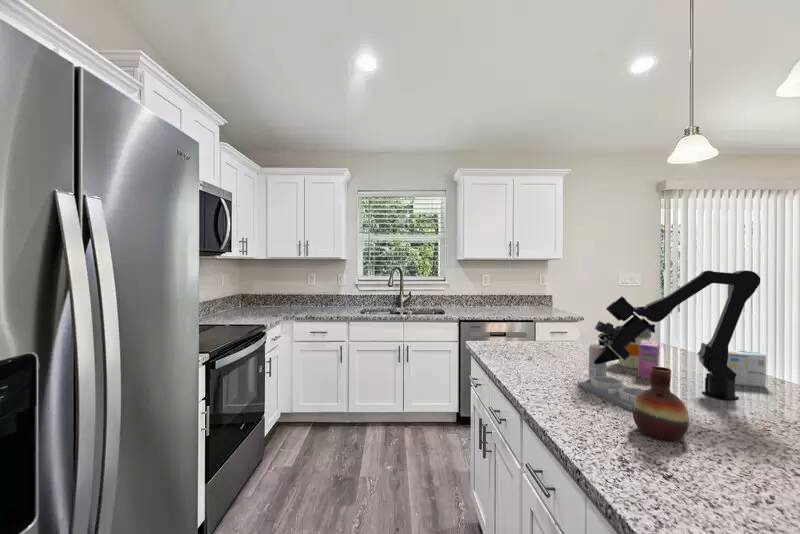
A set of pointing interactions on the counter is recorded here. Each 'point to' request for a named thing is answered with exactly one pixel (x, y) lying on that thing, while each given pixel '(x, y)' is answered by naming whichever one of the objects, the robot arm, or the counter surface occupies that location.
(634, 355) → the reusable coffee cup
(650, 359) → the box
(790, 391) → the counter surface
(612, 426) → the counter surface
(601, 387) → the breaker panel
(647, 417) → the vase
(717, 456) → the counter surface
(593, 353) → the energy drink
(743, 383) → the light bulb box
